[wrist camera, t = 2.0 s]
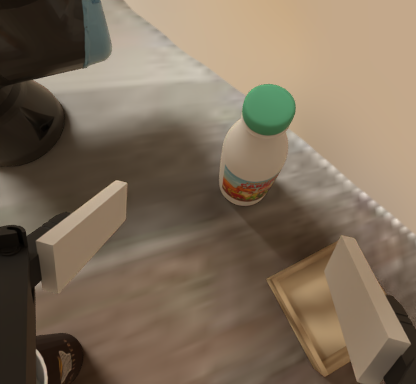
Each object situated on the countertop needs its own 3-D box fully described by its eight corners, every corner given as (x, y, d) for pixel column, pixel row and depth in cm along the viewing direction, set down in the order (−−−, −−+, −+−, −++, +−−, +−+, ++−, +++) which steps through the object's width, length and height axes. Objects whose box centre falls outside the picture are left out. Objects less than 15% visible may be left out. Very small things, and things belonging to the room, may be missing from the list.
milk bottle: (208, 180, 43) (207, 98, 24) (245, 152, 44) (272, 54, 25) (240, 217, 41) (268, 160, 22) (278, 186, 42) (334, 109, 23)
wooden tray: (266, 279, 38) (271, 279, 34) (337, 241, 39) (348, 237, 36) (313, 367, 34) (324, 377, 31) (389, 322, 36) (407, 326, 33)
